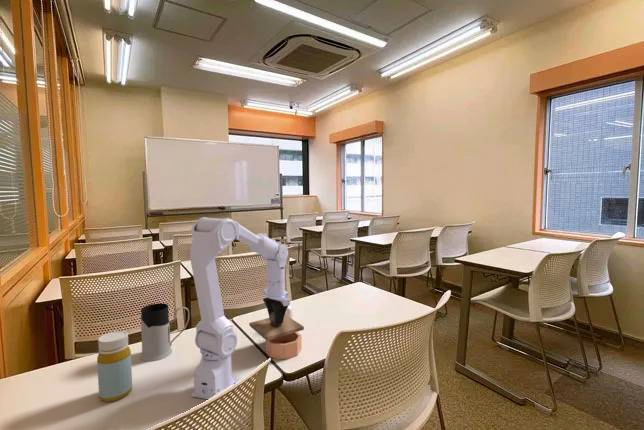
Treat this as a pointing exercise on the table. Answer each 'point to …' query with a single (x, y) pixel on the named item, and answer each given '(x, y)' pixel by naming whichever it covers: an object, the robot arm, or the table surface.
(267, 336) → the lid
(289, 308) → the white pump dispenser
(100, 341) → the bottle
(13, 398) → the table surface
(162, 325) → the glass holder
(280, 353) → the bowl
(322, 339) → the table surface
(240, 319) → the table surface
